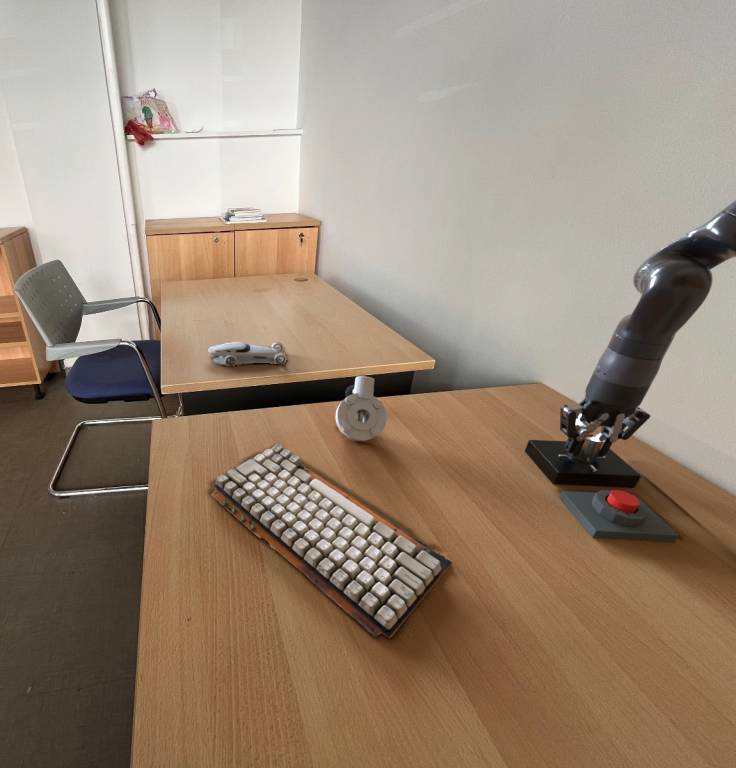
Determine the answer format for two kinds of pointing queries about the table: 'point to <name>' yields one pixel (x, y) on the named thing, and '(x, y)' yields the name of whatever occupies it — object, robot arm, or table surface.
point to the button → (623, 501)
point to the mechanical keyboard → (332, 539)
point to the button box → (616, 518)
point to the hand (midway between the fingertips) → (583, 453)
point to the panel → (580, 467)
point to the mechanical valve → (361, 411)
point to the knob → (590, 447)
